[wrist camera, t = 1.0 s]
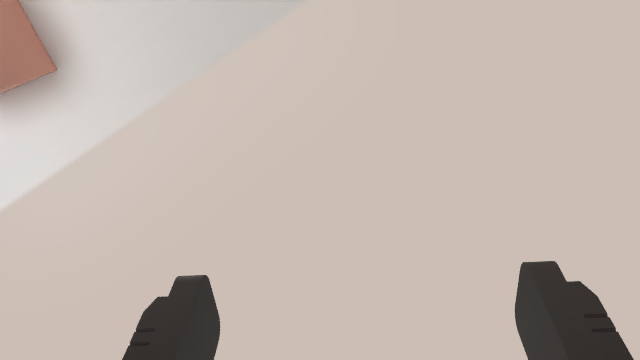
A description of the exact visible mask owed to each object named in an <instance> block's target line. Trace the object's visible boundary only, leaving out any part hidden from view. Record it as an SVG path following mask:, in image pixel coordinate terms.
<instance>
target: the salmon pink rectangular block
mask: <svg viewBox="0 0 640 360" xmlns="http://www.w3.org/2000/svg"><path fill="white" fill-rule="evenodd" d="M55 70H57V69H56V67H55V65H54V63H53V61H52V60H51V58H50V56H49V54H48V53H47V51H46V49H45V47H44V46H43V44H42V42H41V40H40V38H39V37H38V35H37V33H36V31H35V30H34V28H33V26H32V24H31V22H30V21H29V19H28V17H27V15H26V14H25V12H24V10H23V8H22V7H21V5H20V3H19V1H18V0H0V94H1V93H3V92H5V91H8V90H10V89H12V88H15V87H17V86H20V85H22V84H24V83H27V82H29V81H32V80H34V79H36V78H39V77H41V76H44V75H46V74H48V73H51V72H53V71H55Z"/></svg>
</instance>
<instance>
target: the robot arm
mask: <svg viewBox="0 0 640 360" xmlns="http://www.w3.org/2000/svg"><path fill="white" fill-rule="evenodd" d="M515 319H516V325H517V329H518V333H519V335H520V338H521V341H522V343H523V346H524V349H525V352H526V354H527V357H528V360H634V359H633V358H632V356H631V354H630V353H629V351H628V349H627V347H626V345H625V344H624V342H623V340H622V338H621V337H620V335H619V333H618V332H616V330H615V329H616V328H615V326H614V325H613V323H612V321H611V319H610V318H609V317H608V316H607V312H606V311H605V309H604V307H603V305H602V304H601V302H600V300H599V298H598V297H597V296H596V295H595V294H594V293H593V292H592V291H591V290H589V289H588V288H587V287H586V286H585V285H584V284H582V283H581V282H580V281H575V282H567V281H566V280H565V278H564V276H563V274H562V272H561V270H560V268H559V266H558V264H557V263H556V262H555V261H546V262H545V261H544V262H523V263H522V265H521V268H520V275H519V282H518V289H517V296H516V303H515ZM219 320H220V319H219V314H218V310H217V307H216V303H215V300H214V296H213V292H212V288H211V285H210V281H209V278H208V277H207V276H206V275H195V276H178V277H177V278H176V279H175V281H174V284H173V286H172V289H171V291H170V294H169V296H168V297H157V298H156V299H155V300H154V301H153V302H152V304H151V305H150V306H149V307H148V308H147V309H146V310H145V311H144V312H143V314H142V316H141V319H140V321H139V323H138V325H137V328H136V332H134V334H133V337H132V339H131V341H130V346H128V348H127V350H126V353H125V355H124V357H123V359H122V360H214V356H215V353H216V349H217V345H218V341H219V335H220V321H219Z"/></svg>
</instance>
